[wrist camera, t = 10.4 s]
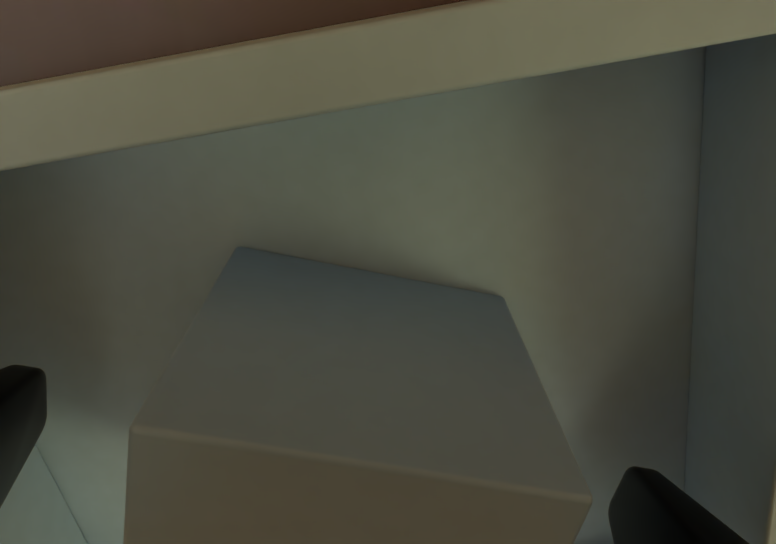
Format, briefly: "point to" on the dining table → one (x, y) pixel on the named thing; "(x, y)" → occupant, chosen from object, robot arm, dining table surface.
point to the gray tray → (419, 225)
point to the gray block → (349, 419)
